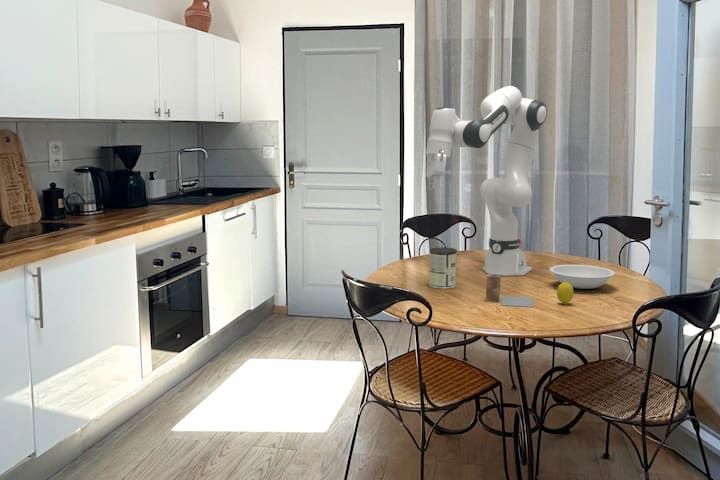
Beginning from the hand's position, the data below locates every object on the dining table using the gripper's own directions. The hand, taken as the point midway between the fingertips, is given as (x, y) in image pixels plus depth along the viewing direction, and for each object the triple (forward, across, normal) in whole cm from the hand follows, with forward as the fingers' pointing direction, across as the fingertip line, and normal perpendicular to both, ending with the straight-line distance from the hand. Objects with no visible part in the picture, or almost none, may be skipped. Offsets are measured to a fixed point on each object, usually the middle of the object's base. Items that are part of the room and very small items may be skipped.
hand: (432, 189), depth 272 cm
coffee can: (+35, +16, -11) cm, 40 cm away
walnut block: (+36, -7, -26) cm, 45 cm away
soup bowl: (+28, +12, -64) cm, 70 cm away
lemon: (+34, -14, -49) cm, 61 cm away
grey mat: (+35, -10, -34) cm, 50 cm away
